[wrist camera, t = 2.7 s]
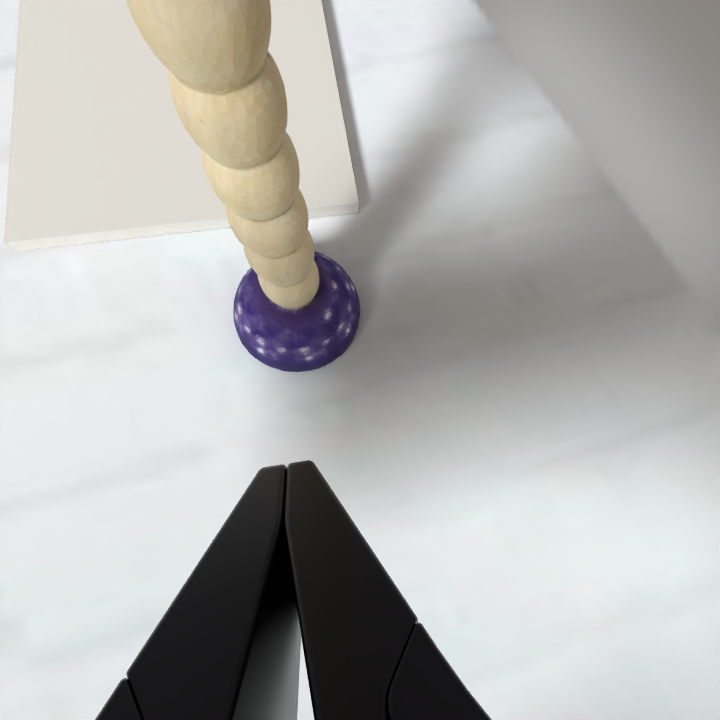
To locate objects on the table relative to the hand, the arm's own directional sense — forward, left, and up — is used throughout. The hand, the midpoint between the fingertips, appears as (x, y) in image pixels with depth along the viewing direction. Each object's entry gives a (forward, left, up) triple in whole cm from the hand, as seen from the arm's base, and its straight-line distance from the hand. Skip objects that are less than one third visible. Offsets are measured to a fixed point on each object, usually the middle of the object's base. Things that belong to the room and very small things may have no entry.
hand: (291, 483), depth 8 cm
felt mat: (+17, +3, -7) cm, 19 cm away
